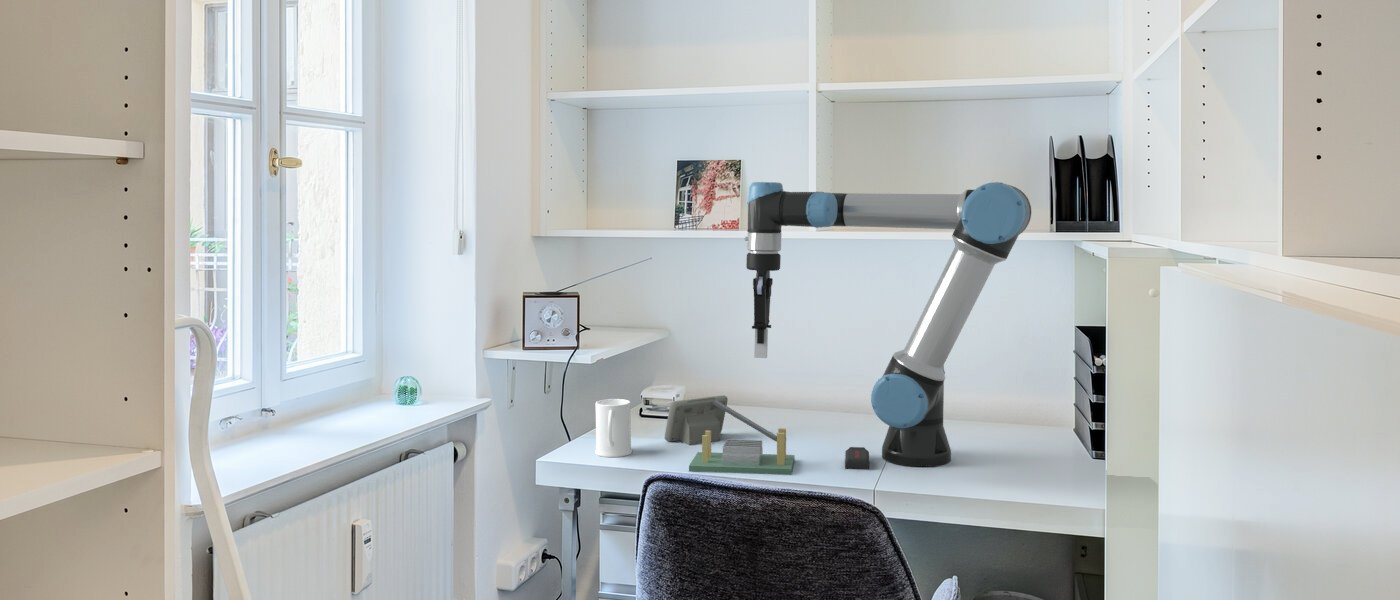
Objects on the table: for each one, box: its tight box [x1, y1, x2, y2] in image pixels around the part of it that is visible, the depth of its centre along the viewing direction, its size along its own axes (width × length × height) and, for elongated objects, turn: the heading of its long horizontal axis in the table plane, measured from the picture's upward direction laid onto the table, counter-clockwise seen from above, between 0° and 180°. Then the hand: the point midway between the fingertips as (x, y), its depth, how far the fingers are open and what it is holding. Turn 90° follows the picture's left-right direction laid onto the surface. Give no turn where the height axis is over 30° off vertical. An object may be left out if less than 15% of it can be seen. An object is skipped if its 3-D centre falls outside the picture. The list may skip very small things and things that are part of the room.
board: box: [688, 427, 796, 476], centre depth 207 cm, size 22×12×8 cm, turn 81°
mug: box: [594, 398, 633, 458], centre depth 218 cm, size 12×8×12 cm
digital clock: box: [664, 395, 728, 446], centre depth 232 cm, size 16×9×11 cm, turn 108°
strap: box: [713, 400, 777, 443], centre depth 206 cm, size 18×3×1 cm
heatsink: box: [722, 438, 764, 466], centre depth 207 cm, size 8×8×4 cm
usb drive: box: [844, 446, 871, 471], centre depth 210 cm, size 5×12×3 cm, turn 171°
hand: (760, 357), depth 212 cm, fingers closed
